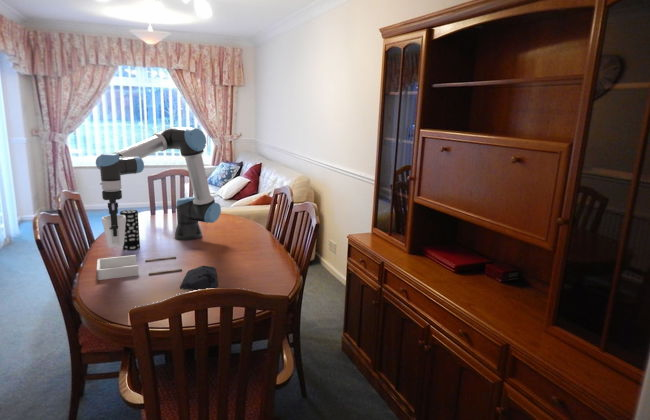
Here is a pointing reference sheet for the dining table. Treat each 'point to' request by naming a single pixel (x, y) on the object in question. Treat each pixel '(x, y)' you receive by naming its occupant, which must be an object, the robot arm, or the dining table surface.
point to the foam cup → (121, 229)
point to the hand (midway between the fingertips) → (115, 240)
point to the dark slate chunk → (200, 278)
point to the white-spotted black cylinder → (131, 230)
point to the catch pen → (117, 267)
